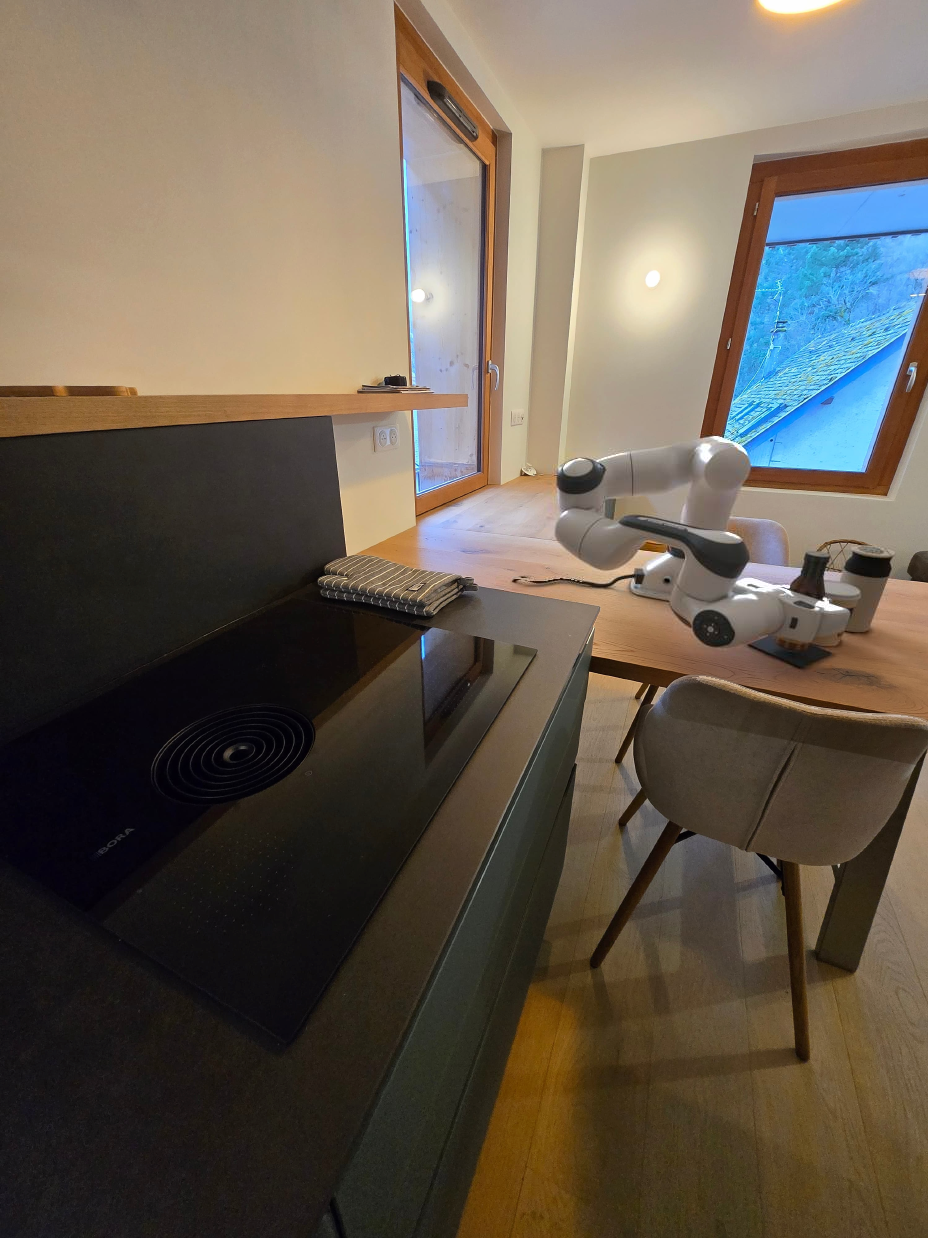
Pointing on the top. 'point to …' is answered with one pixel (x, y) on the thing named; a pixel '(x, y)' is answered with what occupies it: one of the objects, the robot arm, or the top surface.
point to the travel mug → (866, 582)
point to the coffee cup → (843, 598)
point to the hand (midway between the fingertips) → (807, 595)
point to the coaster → (790, 652)
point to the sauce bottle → (807, 589)
